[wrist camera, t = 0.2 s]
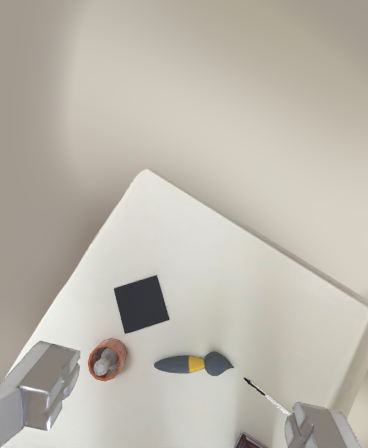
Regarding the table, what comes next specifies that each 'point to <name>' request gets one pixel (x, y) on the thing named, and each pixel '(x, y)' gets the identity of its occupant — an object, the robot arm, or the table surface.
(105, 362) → the rook chess piece
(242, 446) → the supplement box
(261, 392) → the pen
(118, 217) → the table surface
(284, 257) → the table surface
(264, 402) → the table surface
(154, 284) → the pad
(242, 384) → the table surface
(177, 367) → the paintbrush
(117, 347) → the brown hollow cylinder
